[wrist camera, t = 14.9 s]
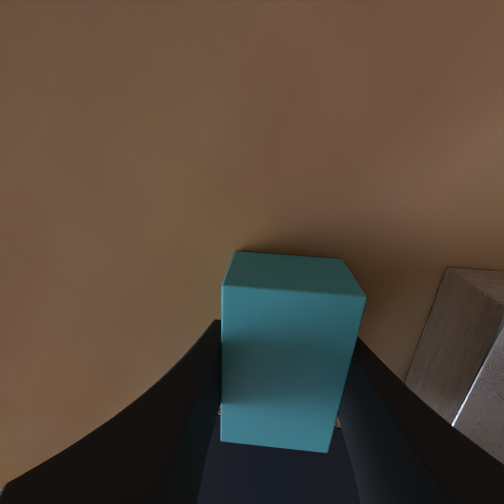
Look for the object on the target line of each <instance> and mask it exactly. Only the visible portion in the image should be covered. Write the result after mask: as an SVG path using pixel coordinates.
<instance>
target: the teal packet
mask: <svg viewBox="0 0 504 504" xmlns="http://www.w3.org/2000/svg"><path fill="white" fill-rule="evenodd" d="M366 300H367V296H366V294H365V293H364V291H363V290H362V288H361V287H360V285H359V284H358V282H357V281H356V279H355V278H354V276H353V275H352V273H351V272H350V270H349V269H348V267H347V265H346V264H345V262H344V261H343V260H342V259H335V258H322V257H308V256H295V255H281V254H268V253H254V252H241V251H235V252H234V254H233V257H232V260H231V262H230V265H229V268H228V270H227V273H226V276H225V278H224V281H223V284H222V311H221V441H224V442H233V443H242V444H251V445H260V446H269V447H278V448H287V449H296V450H305V451H314V452H323V453H328V450H329V446H330V442H331V439H332V435H333V431H334V427H335V423H336V419H337V415H338V411H339V407H340V403H341V399H342V395H343V391H344V387H345V383H346V379H347V375H348V371H349V367H350V363H351V359H352V355H353V351H354V347H355V343H356V340H357V336H358V332H359V328H360V324H361V320H362V316H363V312H364V308H365V304H366Z"/></svg>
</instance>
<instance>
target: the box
mask: <svg viewBox="0 0 504 504" xmlns="http://www.w3.org/2000/svg"><path fill="white" fill-rule="evenodd" d="M197 504H361V503H360V498H359V493H358V488H357V483H356V478H355V474H354V470H353V466H352V462H351V459H350V456H349V452H348V449H347V445H346V442H345V438H344V435H343V431H342V429H334V431H333V435H332V439H331V442H330V446H329V450H328V453H323V452H314V451H305V450H296V449H287V448H278V447H269V446H260V445H251V444H242V443H233V442H224V441H221V417H219V416H217V418H216V422H215V426H214V429H213V433H212V437H211V440H210V444H209V448H208V452H207V456H206V461H205V465H204V471H203V476H202V481H201V486H200V492H199V497H198V502H197Z"/></svg>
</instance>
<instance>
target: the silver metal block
mask: <svg viewBox="0 0 504 504" xmlns="http://www.w3.org/2000/svg"><path fill="white" fill-rule="evenodd" d="M404 384H405V385H406V386H407V387H408V388H409V389H410V390H411V391H413V392H414V393H415V394H416V395H417V396H418V397H419V398H420V399H421V400H422V401H424V402H425V403H426V404H427V405H428V406H429V407H430V408H432V409H433V410H434V411H435V412H436V413H438V414H439V415H440V416H441V417H443V418H444V419H445V420H446V421H447V422H449V423H450V424H451V425H452V426H453V427H455V428H456V429H457V430H458V431H460V432H461V433H462V434H464V435H465V436H466V437H467V438H469V439H470V440H471V441H473V442H474V443H475V444H477V445H478V446H479V447H481V448H482V449H484V450H485V451H486V452H488V453H489V454H490V455H492V456H493V457H494V458H496V459H497V460H499V461H500V462H501V463H503V464H504V271H491V270H478V269H464V268H451V267H448V268H446V271H445V274H444V277H443V279H442V282H441V285H440V288H439V290H438V293H437V296H436V298H435V301H434V304H433V307H432V309H431V312H430V315H429V318H428V320H427V323H426V326H425V328H424V331H423V334H422V337H421V339H420V342H419V345H418V348H417V350H416V353H415V356H414V358H413V361H412V364H411V367H410V369H409V372H408V375H407V378H406V380H405V383H404Z"/></svg>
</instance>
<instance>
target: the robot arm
mask: <svg viewBox="0 0 504 504" xmlns="http://www.w3.org/2000/svg"><path fill="white" fill-rule="evenodd" d="M220 404H221V320H217V319H215V320H214V321H213V322H212V323H211V324H210V326H209V327H208V328H207V330H206V331H205V332H204V333H203V335H202V336H201V337H200V338H199V339H198V341H197V342H196V343H195V344H194V345H193V346H192V347H191V348H190V350H189V351H188V352H187V353H186V354H185V355H184V356H183V357H182V358H181V359H180V360H179V361H178V362H177V363H176V364H175V365H174V366H173V367H172V368H171V369H170V370H169V371H168V372H167V373H166V374H165V375H164V376H163V377H162V378H161V379H160V380H159V381H158V382H156V383H155V384H154V385H153V386H152V387H151V388H150V389H148V390H147V391H146V392H145V393H144V394H142V395H141V396H140V397H139V398H137V399H136V400H135V401H134V402H132V403H131V404H130V405H129V406H127V407H126V408H125V409H123V410H122V411H121V412H119V413H118V414H117V415H115V416H114V417H113V418H111V419H110V420H109V421H107V422H106V423H104V424H103V425H101V426H100V427H98V428H97V429H95V430H94V431H92V432H91V433H89V434H88V435H86V436H85V437H83V438H82V439H81V440H79V441H78V442H76V443H74V444H73V445H71V446H70V447H68V448H67V449H65V450H63V451H62V452H60V453H58V454H57V455H55V456H53V457H52V458H50V459H48V460H47V461H45V462H43V463H41V464H40V465H38V466H36V467H35V468H33V469H31V470H29V471H28V472H26V473H24V474H23V475H21V476H19V477H17V478H16V479H14V480H12V481H10V482H8V483H7V484H6V485H5V486H4V488H3V489H0V504H197V502H198V497H199V492H200V486H201V481H202V476H203V471H204V465H205V461H206V456H207V452H208V448H209V444H210V440H211V437H212V433H213V429H214V426H215V422H216V418H217V415H218V411H219V407H220ZM338 417H339V421H340V424H341V428H342V431H343V435H344V438H345V442H346V445H347V449H348V452H349V456H350V459H351V462H352V466H353V470H354V474H355V478H356V483H357V488H358V493H359V498H360V503H361V504H504V464H503V463H501V462H500V461H499V460H497V459H496V458H494V457H493V456H492V455H490V454H489V453H488V452H486V451H485V450H484V449H482V448H481V447H479V446H478V445H477V444H475V443H474V442H473V441H471V440H470V439H469V438H467V437H466V436H465V435H464V434H462V433H461V432H460V431H458V430H457V429H456V428H455V427H453V426H452V425H451V424H450V423H449V422H447V421H446V420H445V419H444V418H443V417H441V416H440V415H439V414H438V413H436V412H435V411H434V410H433V409H432V408H430V407H429V406H428V405H427V404H426V403H425V402H424V401H422V400H421V399H420V398H419V397H418V396H417V395H416V394H415V393H414V392H413V391H411V390H410V389H409V388H408V387H407V386H406V385H405V384H404V383H403V382H402V381H401V380H400V379H399V378H398V377H397V376H396V375H395V374H394V373H393V372H392V371H391V370H390V369H389V368H388V367H387V366H386V365H385V364H384V363H383V362H382V361H381V360H380V359H379V358H378V357H377V356H376V355H375V354H374V353H373V352H372V351H371V350H370V349H369V348H368V347H367V346H366V345H365V344H364V342H363V341H362V340H361V339H360V338H359V337H358V336H357V340H356V343H355V347H354V351H353V355H352V359H351V363H350V367H349V371H348V375H347V379H346V383H345V387H344V391H343V395H342V399H341V403H340V407H339V411H338Z"/></svg>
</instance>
